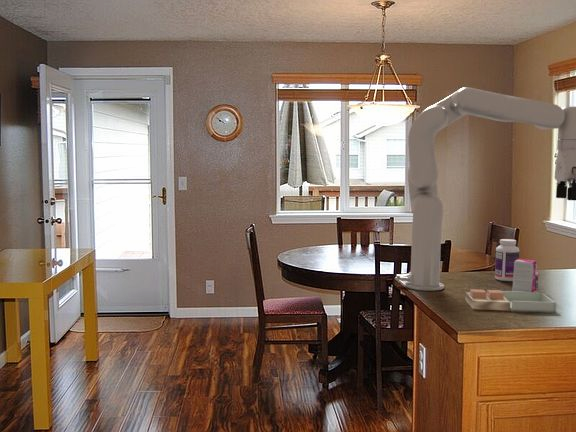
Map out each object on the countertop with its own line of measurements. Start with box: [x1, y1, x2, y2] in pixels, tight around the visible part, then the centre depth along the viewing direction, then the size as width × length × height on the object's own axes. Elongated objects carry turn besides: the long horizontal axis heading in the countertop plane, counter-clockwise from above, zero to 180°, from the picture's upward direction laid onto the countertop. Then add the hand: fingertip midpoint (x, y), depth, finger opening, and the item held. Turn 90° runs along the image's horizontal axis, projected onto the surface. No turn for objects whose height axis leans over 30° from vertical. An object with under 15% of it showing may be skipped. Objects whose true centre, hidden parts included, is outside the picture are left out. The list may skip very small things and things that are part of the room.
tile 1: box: [469, 288, 487, 298], centre depth 196 cm, size 4×4×2 cm
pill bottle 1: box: [494, 238, 520, 282], centre depth 236 cm, size 8×8×14 cm
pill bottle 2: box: [534, 264, 540, 292], centre depth 217 cm, size 5×5×9 cm
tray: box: [501, 290, 557, 314], centre depth 195 cm, size 12×14×3 cm
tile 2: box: [486, 289, 504, 299], centre depth 196 cm, size 4×4×2 cm
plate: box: [465, 291, 511, 312], centre depth 196 cm, size 10×12×2 cm
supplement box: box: [511, 258, 537, 292], centre depth 209 cm, size 6×6×12 cm
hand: (566, 199), depth 213 cm, fingers open, 9 cm apart
